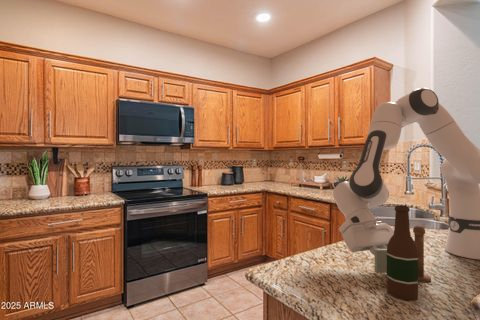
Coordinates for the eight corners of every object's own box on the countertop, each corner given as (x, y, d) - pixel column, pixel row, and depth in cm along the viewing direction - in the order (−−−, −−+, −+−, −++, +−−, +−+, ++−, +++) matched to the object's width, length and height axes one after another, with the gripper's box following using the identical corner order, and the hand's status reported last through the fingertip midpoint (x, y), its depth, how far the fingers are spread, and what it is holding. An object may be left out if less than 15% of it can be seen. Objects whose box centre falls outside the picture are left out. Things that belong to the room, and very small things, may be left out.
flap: (411, 270, 85) (411, 248, 85) (414, 272, 84) (414, 249, 84) (374, 271, 84) (374, 248, 84) (376, 273, 83) (376, 250, 83)
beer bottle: (424, 303, 69) (424, 208, 69) (391, 300, 71) (391, 207, 71) (412, 289, 77) (411, 204, 77) (382, 286, 78) (382, 203, 79)
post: (420, 273, 88) (420, 223, 88) (435, 281, 82) (435, 227, 82) (403, 274, 87) (403, 223, 87) (418, 282, 81) (417, 228, 81)
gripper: (378, 225, 101) (402, 261, 91) (334, 229, 93) (356, 269, 84) (389, 215, 96) (415, 252, 87) (344, 219, 89) (367, 259, 80)
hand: (386, 260), depth 86 cm, fingers closed
